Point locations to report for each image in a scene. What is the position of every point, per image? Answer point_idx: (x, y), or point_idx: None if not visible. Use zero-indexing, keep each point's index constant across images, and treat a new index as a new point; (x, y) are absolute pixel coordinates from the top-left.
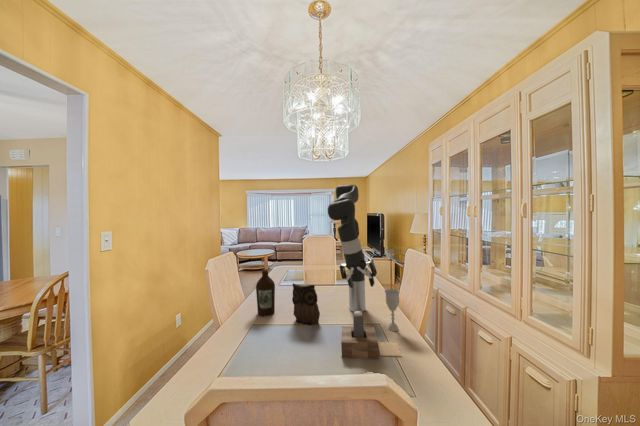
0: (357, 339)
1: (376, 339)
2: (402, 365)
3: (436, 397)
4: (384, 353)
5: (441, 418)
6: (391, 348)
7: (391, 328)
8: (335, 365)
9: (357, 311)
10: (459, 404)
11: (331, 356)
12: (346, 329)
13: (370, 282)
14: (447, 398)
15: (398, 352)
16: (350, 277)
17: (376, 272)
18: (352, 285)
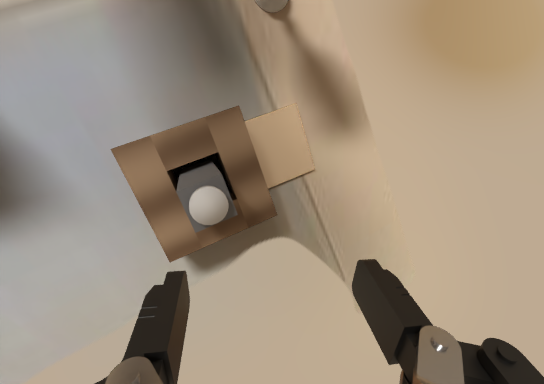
0: None
1: (268, 195)
2: (318, 203)
3: None
4: (275, 177)
5: None
6: (287, 143)
7: (269, 4)
8: None
9: (202, 197)
10: (399, 264)
11: (141, 249)
12: (143, 168)
13: (375, 324)
14: (386, 260)
15: (307, 157)
16: (161, 376)
17: (518, 367)
18: (186, 301)
